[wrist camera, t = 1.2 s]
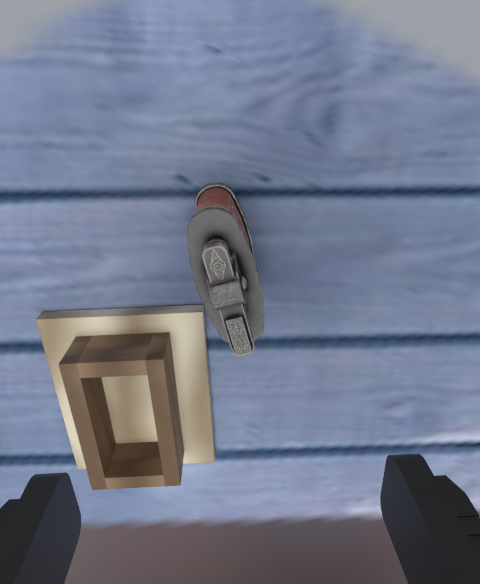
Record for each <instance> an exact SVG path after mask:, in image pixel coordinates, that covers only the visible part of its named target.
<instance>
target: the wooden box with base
mask: <svg viewBox="0 0 480 584" xmlns="http://www.w3.org/2000/svg"><path fill="white" fill-rule="evenodd" d="M36 322H37V325H38V329H39V332H40V336H41V339H42V343H43V346H44V350H45V354H46V357H47V361H48V364H49V368H50V371H51V375H52V378H53V382H54V385H55V389H56V393H57V396H58V400H59V403H60V407H61V410H62V414H63V417H64V421H65V425H66V428H67V432H68V435H69V439H70V442H71V446H72V449H73V453H74V456H75V460H76V464H77V467H78V469H87V472H88V476H89V480H90V484H91V487H92V490H99V489H119V488H138V487H157V486H176V485H180V483H181V475H182V466H183V464H189V463H208V462H215V444H214V432H213V419H212V406H211V394H210V381H209V369H208V356H207V343H206V331H205V318H204V306H203V305H185V306H162V307H139V308H117V309H94V310H72V311H49V312H42V313H41V314H40V315H39V317H38V318H37V319H36Z"/></svg>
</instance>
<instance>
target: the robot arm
mask: <svg viewBox="0 0 480 584" xmlns="http://www.w3.org/2000/svg"><path fill="white" fill-rule="evenodd" d="M380 501H381V510H382V515H383V519H384V522H385V525H386V527H387V530H388V532H389V535H390V537H391V540H392V543H393V545H394V548H395V551H396V553H397V556H398V558H399V561H400V564H401V566H402V569H403V571H404V574H405V576H406V579H407V582H408V584H480V518H479V514H478V513H477V511H476V509H475V508H474V506H473V505H472V503H471V501H470V500H469V498H468V497H467V495H466V493H465V492H463V491H462V490H461V489H460V488H459V487H458V486H457V485H456V484H455V483H454V482H452V481H451V480H450V479H449V478H448V477H447V476H446V475H442V476H434V475H433V473H432V471H431V470H430V468H429V466H428V464H427V463H426V461H425V459H424V458H423V457H422V456H421V455H420V454H401V455H389V456H388V457H387V460H386V465H385V471H384V478H383V484H382V490H381V497H380ZM80 529H81V514H80V510H79V506H78V503H77V500H76V496H75V493H74V490H73V486H72V483H71V480H70V477H69V475H68V474H67V473H50V474H36V475H34V476H32V477H31V479H30V480H29V482H28V484H27V486H26V488H25V490H24V492H23V494H22V496H21V498H20V499H12V500H8V501H7V502H6V503H5V504H4V505H3V506H2V507H1V508H0V584H64V582H65V579H66V576H67V573H68V570H69V567H70V564H71V561H72V558H73V555H74V552H75V549H76V546H77V542H78V539H79V534H80Z"/></svg>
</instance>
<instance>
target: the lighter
mask: <svg viewBox="0 0 480 584" xmlns="http://www.w3.org/2000/svg"><path fill="white" fill-rule="evenodd" d="M195 206H196V212H195V214H194V215H193V216H192V218H191V220H190V222H189V224H188V227H187V241H188V249H189V257H190V264H191V268H192V272H193V276H194V280H195V283H196V287H197V291H198V293H199V296H200V298H201V300H202V303H203V305H204V307H205V310H206V312H207V315H208V316H209V318H210V320H211V322H212V323H213V325H214V327H215V328H216V330H217V332H218V333H219V335H220V337H221V338H222V339H223V340H224V341H226V342H228V343H230V346H231V349H232V352H233V353H234V354H235V355H237V356H244V355H248V354H250V353H252V352H253V351H254V341H255V340H256V339H257V338H259V337H260V335H261V334H262V332H263V329H264V309H263V298H262V292H261V287H260V281H259V276H258V270H257V267H256V264H255V256H254V251H253V245H252V240H251V234H250V231H249V228H248V225H247V222H246V219H245V216H244V213H243V211H242V209H241V207H240V205H239V203H238V200H237V198H236V196H235V194H234V192H233V191H232V189H231V188H230V187H229V186H227V185H226V184H223V183H219V182H216V183H210V184H208V185H205V186H204V187H203V188H202V189H201V190H200V191H199V193H198V194H197V197H196V203H195Z"/></svg>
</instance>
